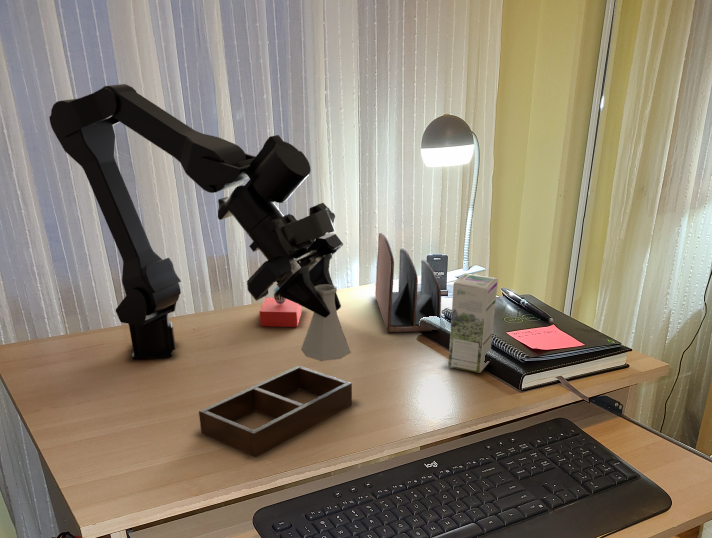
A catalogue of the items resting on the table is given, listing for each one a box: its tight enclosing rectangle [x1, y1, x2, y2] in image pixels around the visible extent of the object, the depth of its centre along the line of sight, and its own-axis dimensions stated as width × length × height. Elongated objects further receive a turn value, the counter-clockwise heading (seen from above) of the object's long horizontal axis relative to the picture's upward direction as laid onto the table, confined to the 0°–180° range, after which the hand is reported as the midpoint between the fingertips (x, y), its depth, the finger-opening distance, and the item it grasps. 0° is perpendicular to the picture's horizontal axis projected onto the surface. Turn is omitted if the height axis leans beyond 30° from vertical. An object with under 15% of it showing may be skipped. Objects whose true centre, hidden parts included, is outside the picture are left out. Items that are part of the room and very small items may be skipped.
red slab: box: [259, 285, 302, 328], centre depth 144 cm, size 8×7×6 cm
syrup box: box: [447, 273, 499, 374], centre depth 125 cm, size 6×6×14 cm
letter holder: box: [374, 232, 442, 334], centre depth 145 cm, size 10×20×14 cm, turn 6°
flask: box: [300, 284, 352, 362], centre depth 113 cm, size 7×7×10 cm
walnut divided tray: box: [198, 365, 353, 458], centre depth 110 cm, size 11×20×4 cm, turn 143°
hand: (333, 312), depth 112 cm, fingers closed on flask, 3 cm apart
